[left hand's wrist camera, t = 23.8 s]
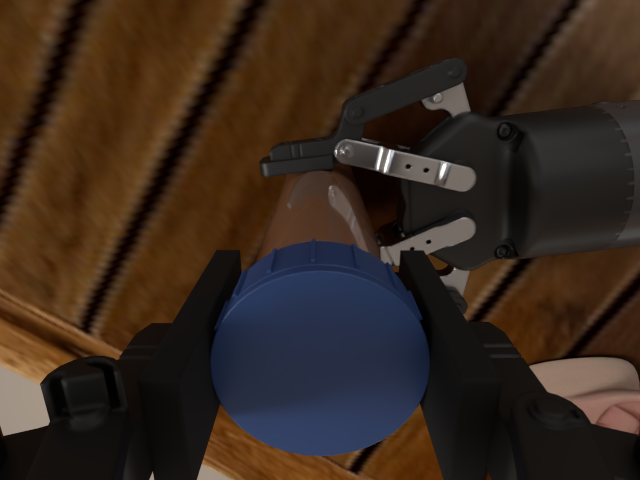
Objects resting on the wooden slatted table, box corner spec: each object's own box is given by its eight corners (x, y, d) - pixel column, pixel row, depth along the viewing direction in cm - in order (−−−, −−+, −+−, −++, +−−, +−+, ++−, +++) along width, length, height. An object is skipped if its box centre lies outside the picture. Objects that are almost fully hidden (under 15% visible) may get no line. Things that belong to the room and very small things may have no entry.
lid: (193, 357, 12) (171, 404, 11) (281, 201, 11) (273, 226, 9) (351, 430, 13) (356, 485, 12) (453, 297, 12) (478, 336, 10)
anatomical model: (478, 506, 34) (505, 385, 30) (462, 464, 38) (485, 352, 34) (645, 511, 34) (694, 392, 30) (613, 469, 38) (653, 358, 34)
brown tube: (273, 193, 30) (200, 370, 12) (309, 134, 28) (289, 231, 10) (330, 227, 31) (345, 442, 12) (367, 172, 29) (445, 322, 11)
